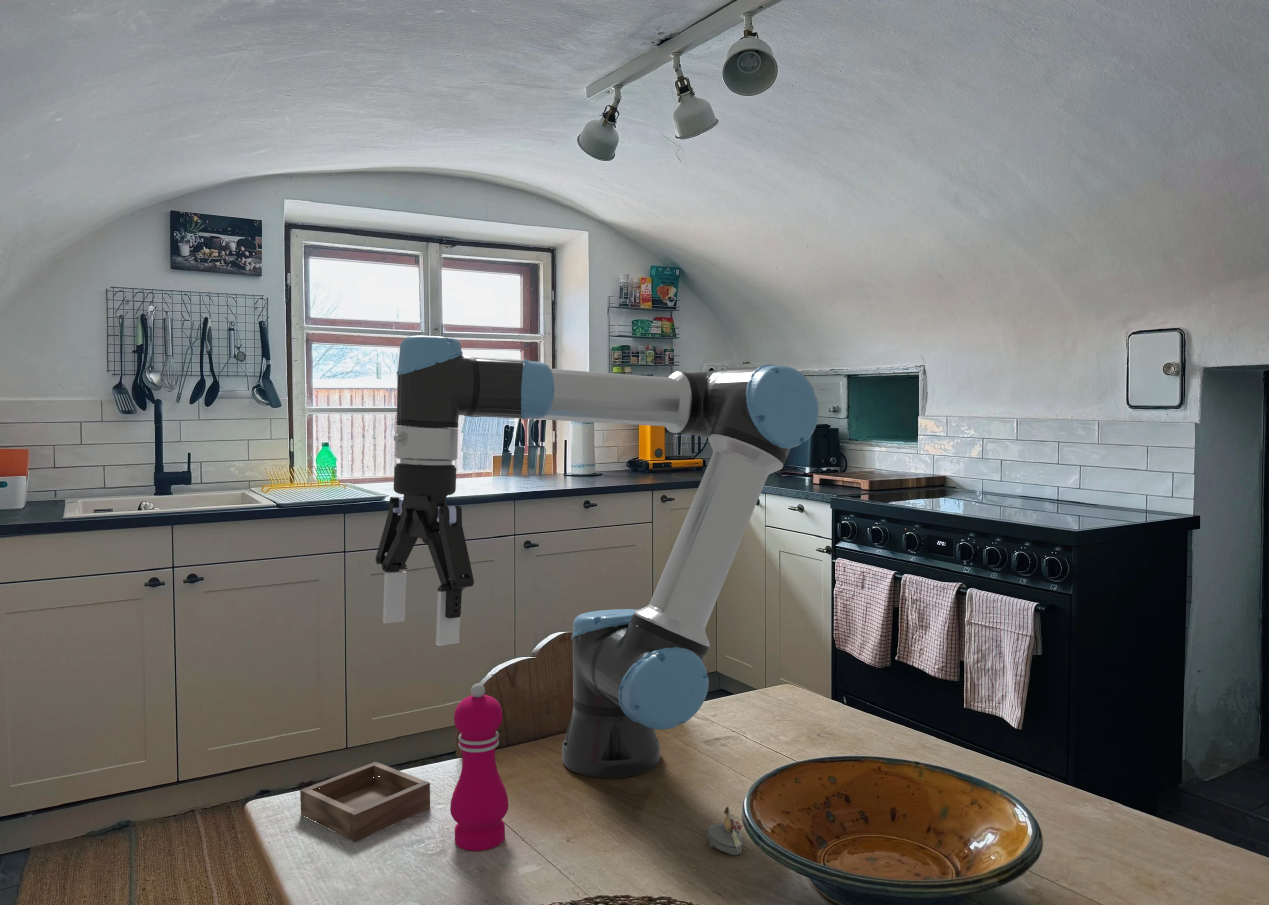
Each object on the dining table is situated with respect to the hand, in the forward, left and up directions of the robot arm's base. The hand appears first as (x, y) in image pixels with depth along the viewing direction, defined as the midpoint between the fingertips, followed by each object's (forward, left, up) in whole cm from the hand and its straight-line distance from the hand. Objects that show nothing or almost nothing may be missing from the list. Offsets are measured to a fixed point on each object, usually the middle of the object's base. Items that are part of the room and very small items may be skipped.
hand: (419, 632), depth 112 cm
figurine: (-32, -22, -27) cm, 47 cm away
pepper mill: (-6, -5, -27) cm, 28 cm away
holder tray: (+12, -1, -27) cm, 29 cm away
